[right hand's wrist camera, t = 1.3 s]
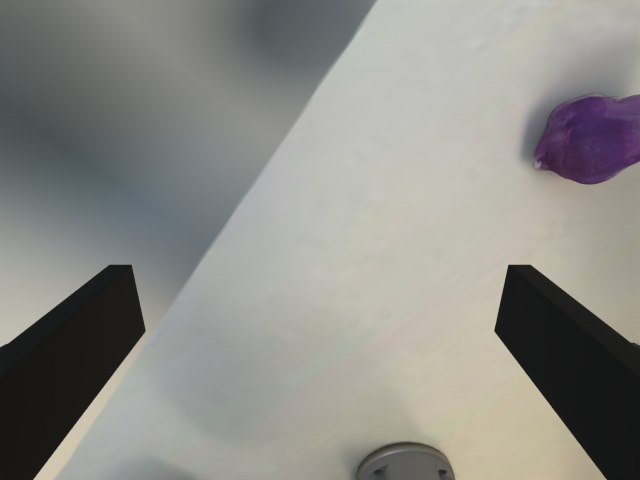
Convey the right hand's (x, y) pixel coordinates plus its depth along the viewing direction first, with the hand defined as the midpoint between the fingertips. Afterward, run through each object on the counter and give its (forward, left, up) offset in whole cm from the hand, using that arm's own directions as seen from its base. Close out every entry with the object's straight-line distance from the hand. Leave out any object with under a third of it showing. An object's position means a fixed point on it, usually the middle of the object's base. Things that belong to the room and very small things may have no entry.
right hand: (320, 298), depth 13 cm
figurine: (+4, -27, -28) cm, 39 cm away
